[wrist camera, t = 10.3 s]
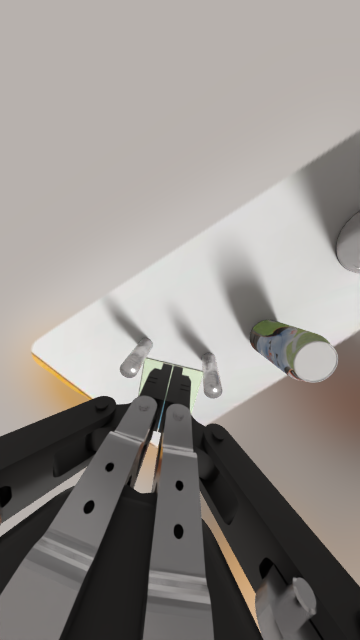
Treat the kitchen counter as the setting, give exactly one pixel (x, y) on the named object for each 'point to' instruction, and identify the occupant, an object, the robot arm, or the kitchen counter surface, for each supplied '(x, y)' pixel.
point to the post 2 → (211, 376)
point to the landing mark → (151, 364)
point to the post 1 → (136, 358)
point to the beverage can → (295, 350)
